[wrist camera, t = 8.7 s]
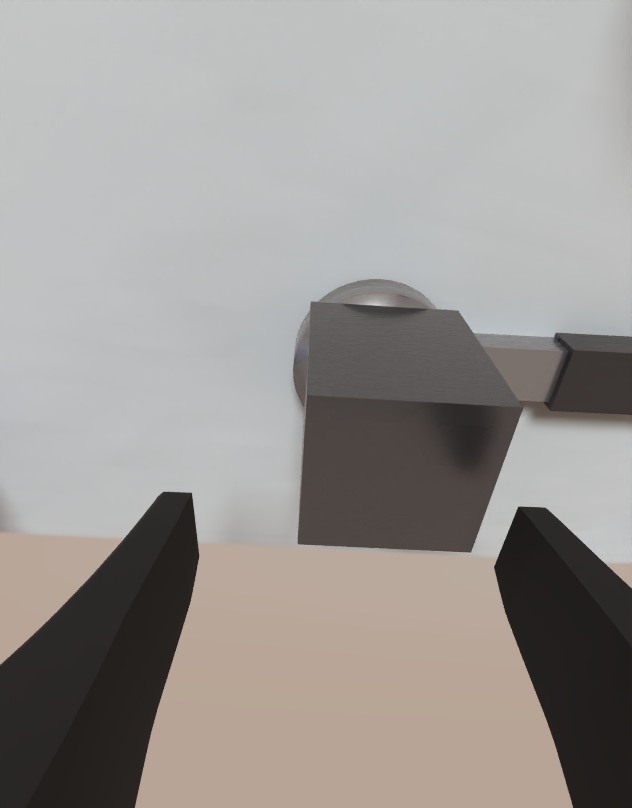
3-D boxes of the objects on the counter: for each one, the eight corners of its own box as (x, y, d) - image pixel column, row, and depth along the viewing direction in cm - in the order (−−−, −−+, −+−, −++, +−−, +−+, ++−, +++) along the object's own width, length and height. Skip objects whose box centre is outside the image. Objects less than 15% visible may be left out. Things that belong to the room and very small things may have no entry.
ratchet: (292, 413, 20) (287, 477, 17) (297, 275, 17) (291, 318, 13) (636, 429, 20) (701, 495, 17) (705, 297, 17) (802, 346, 14)
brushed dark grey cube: (303, 423, 18) (297, 544, 13) (310, 301, 16) (306, 395, 11) (429, 430, 18) (470, 552, 13) (457, 310, 16) (523, 407, 11)
